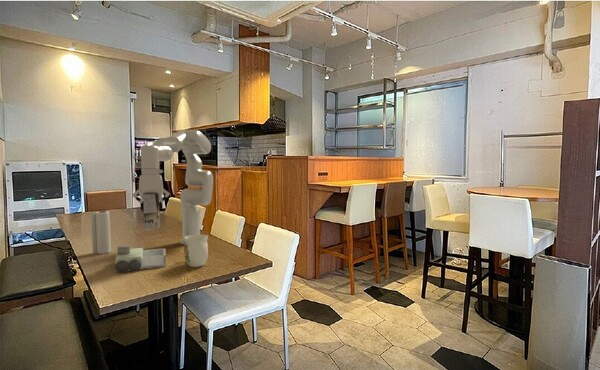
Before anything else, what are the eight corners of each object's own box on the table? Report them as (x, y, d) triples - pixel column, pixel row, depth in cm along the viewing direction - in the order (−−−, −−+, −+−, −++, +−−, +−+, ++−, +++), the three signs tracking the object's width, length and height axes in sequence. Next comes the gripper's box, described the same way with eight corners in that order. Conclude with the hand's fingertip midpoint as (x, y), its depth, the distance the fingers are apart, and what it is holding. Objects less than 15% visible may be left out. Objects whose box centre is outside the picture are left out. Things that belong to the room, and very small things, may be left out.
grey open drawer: (165, 258, 164) (165, 248, 164) (165, 266, 152) (165, 255, 152) (143, 260, 160) (143, 250, 160) (141, 268, 148) (141, 257, 148)
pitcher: (200, 257, 166) (200, 230, 165) (214, 267, 151) (214, 237, 150) (178, 261, 159) (177, 233, 158) (190, 272, 145) (189, 240, 144)
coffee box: (159, 228, 151) (158, 193, 150) (143, 229, 149) (142, 194, 148) (160, 224, 160) (159, 191, 159) (145, 225, 158) (144, 191, 156)
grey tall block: (113, 251, 174) (112, 211, 173) (104, 254, 169) (102, 213, 167) (102, 250, 176) (101, 210, 175) (92, 253, 171) (90, 212, 169)
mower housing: (143, 258, 163) (143, 240, 162) (141, 270, 146) (140, 250, 145) (120, 261, 159) (119, 242, 158) (115, 273, 142) (114, 252, 141)
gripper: (170, 171, 159) (171, 208, 161) (130, 172, 153) (131, 210, 154) (171, 172, 152) (172, 211, 154) (128, 172, 146) (130, 213, 147)
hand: (151, 210), depth 154 cm, fingers closed on coffee box, 6 cm apart
